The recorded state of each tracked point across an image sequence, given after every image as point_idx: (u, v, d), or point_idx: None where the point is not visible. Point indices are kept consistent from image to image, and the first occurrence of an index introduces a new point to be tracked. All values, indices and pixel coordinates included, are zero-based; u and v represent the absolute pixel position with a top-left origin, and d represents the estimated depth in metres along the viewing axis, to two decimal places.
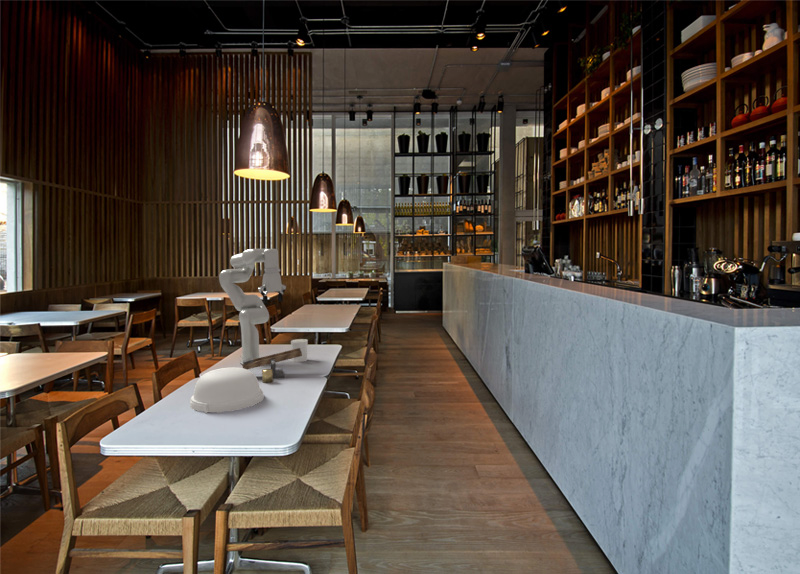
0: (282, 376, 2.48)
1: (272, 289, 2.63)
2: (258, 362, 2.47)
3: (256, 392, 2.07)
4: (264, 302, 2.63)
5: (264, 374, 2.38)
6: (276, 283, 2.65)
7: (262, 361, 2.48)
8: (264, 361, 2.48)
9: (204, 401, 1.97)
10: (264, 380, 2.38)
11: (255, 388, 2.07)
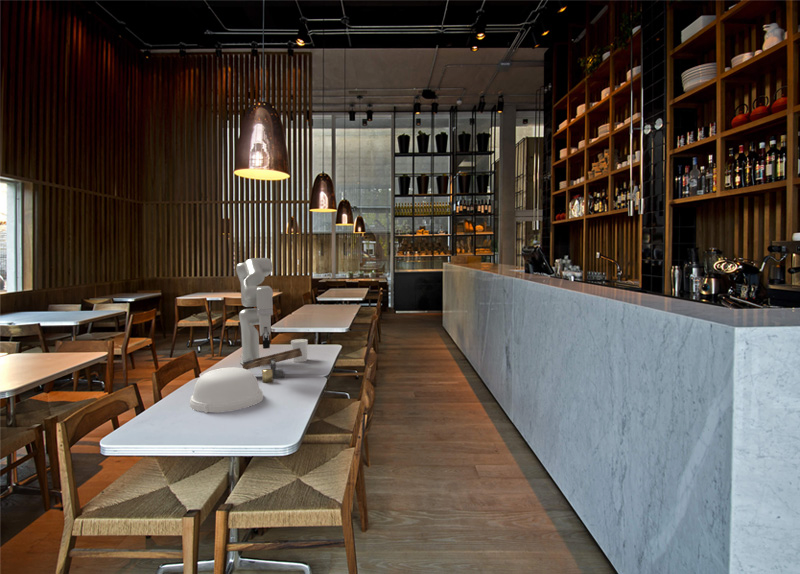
0: (282, 376, 2.48)
1: None
2: (258, 362, 2.47)
3: (256, 392, 2.08)
4: (265, 347, 2.34)
5: (264, 374, 2.38)
6: None
7: (262, 361, 2.48)
8: (264, 361, 2.48)
9: (204, 401, 1.97)
10: (264, 380, 2.38)
11: (255, 388, 2.08)
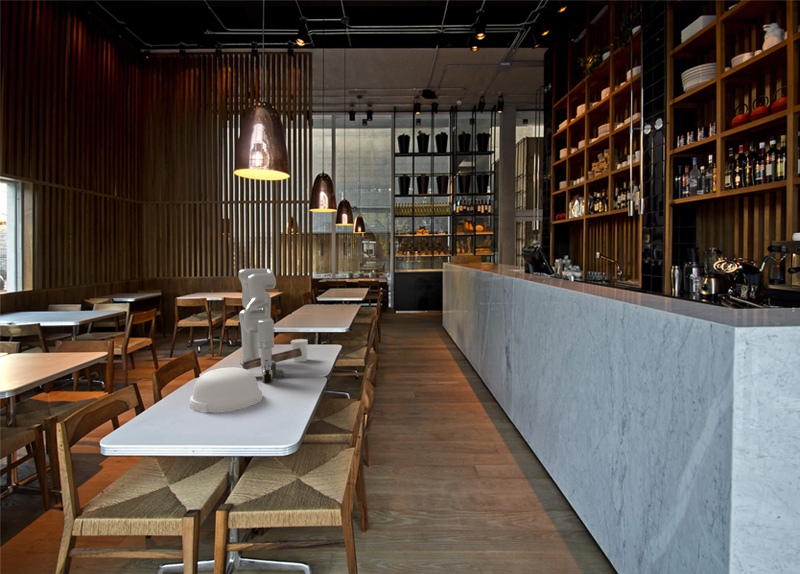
0: (282, 376, 2.48)
1: None
2: (258, 362, 2.47)
3: (255, 392, 2.08)
4: (266, 381, 2.37)
5: None
6: None
7: None
8: None
9: (203, 401, 1.97)
10: None
11: (255, 388, 2.08)
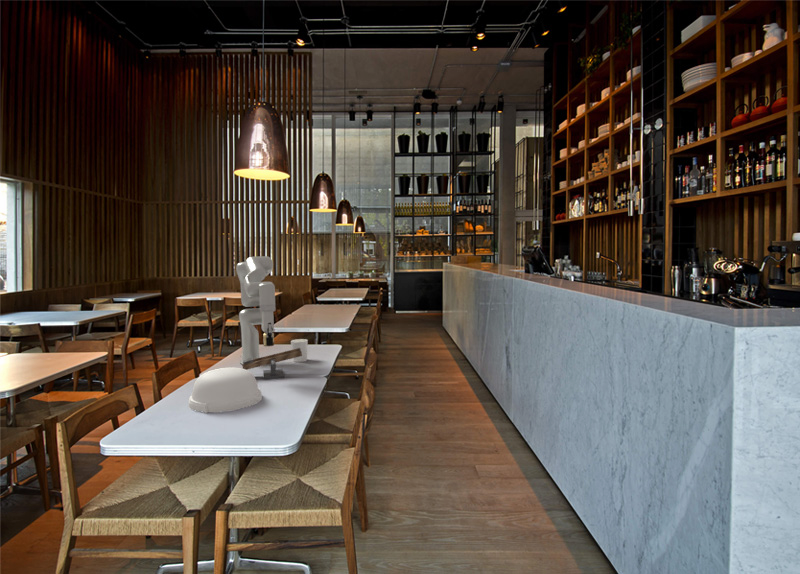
0: (282, 376, 2.48)
1: (273, 327, 2.40)
2: (258, 362, 2.47)
3: (255, 392, 2.08)
4: (268, 344, 2.38)
5: (266, 337, 2.38)
6: None
7: (262, 361, 2.48)
8: (264, 361, 2.48)
9: (203, 401, 1.97)
10: None
11: (254, 388, 2.08)
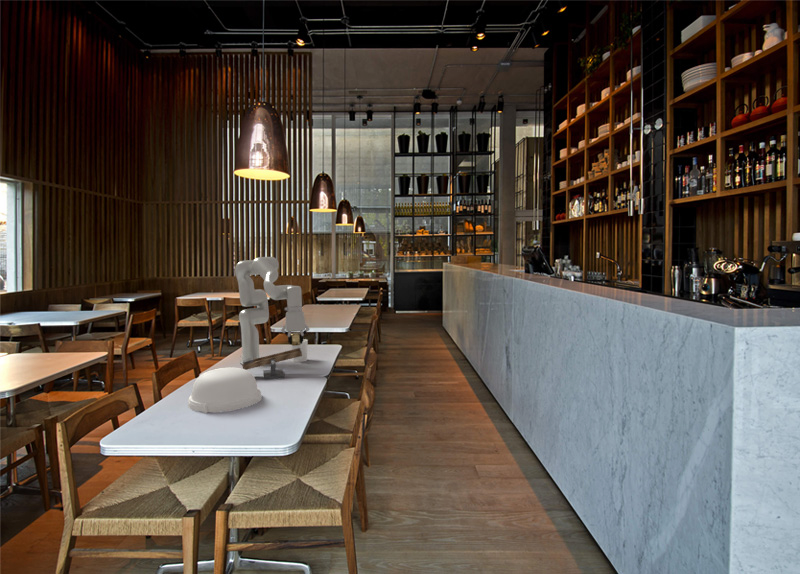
0: (282, 376, 2.48)
1: None
2: (258, 362, 2.47)
3: (254, 392, 2.08)
4: None
5: (299, 336, 2.55)
6: None
7: (262, 361, 2.48)
8: (264, 361, 2.48)
9: (203, 401, 1.97)
10: (299, 342, 2.55)
11: (254, 388, 2.08)
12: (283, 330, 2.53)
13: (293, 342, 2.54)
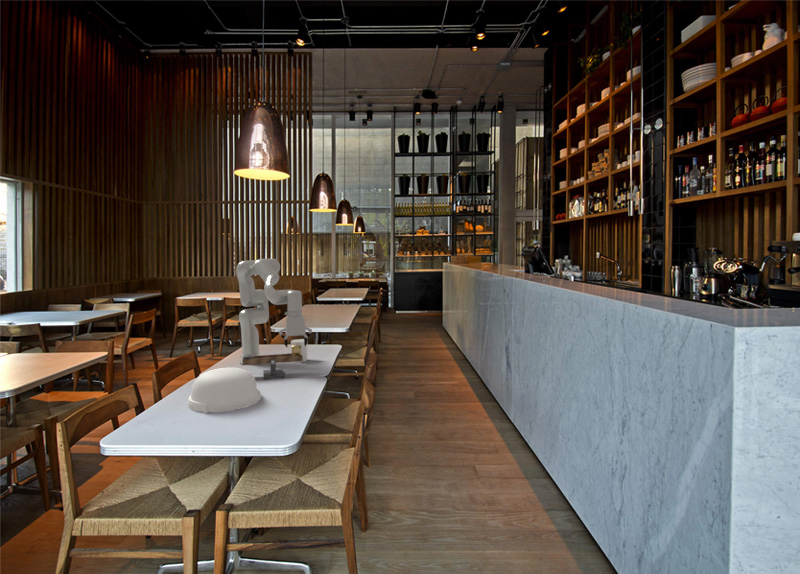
0: (282, 376, 2.48)
1: None
2: (258, 360, 2.47)
3: (254, 392, 2.08)
4: None
5: (300, 348, 2.56)
6: None
7: (262, 359, 2.48)
8: (264, 360, 2.48)
9: (203, 401, 1.97)
10: (300, 354, 2.56)
11: (253, 388, 2.08)
12: (281, 332, 2.53)
13: (294, 354, 2.54)
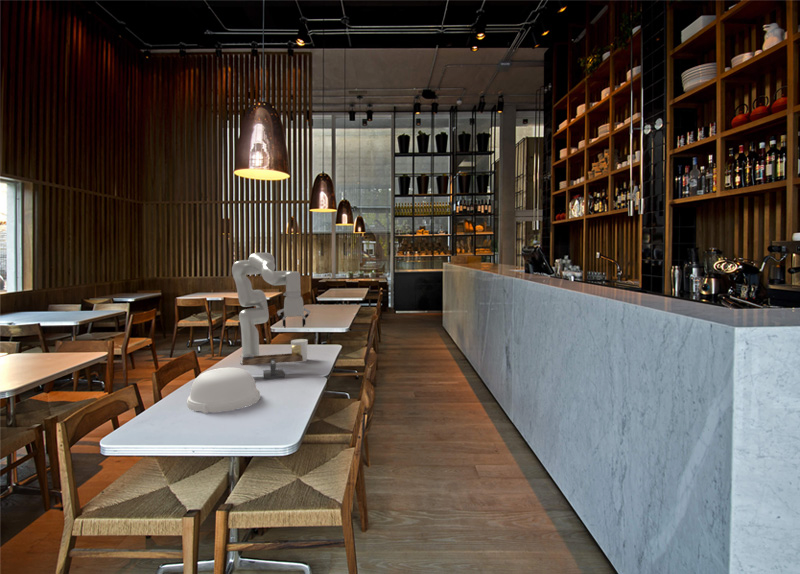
0: (282, 376, 2.48)
1: None
2: (258, 360, 2.47)
3: (253, 391, 2.08)
4: None
5: (300, 348, 2.56)
6: None
7: (262, 359, 2.48)
8: (264, 360, 2.48)
9: (202, 401, 1.97)
10: (300, 354, 2.56)
11: (253, 388, 2.08)
12: (279, 313, 2.54)
13: (294, 354, 2.54)
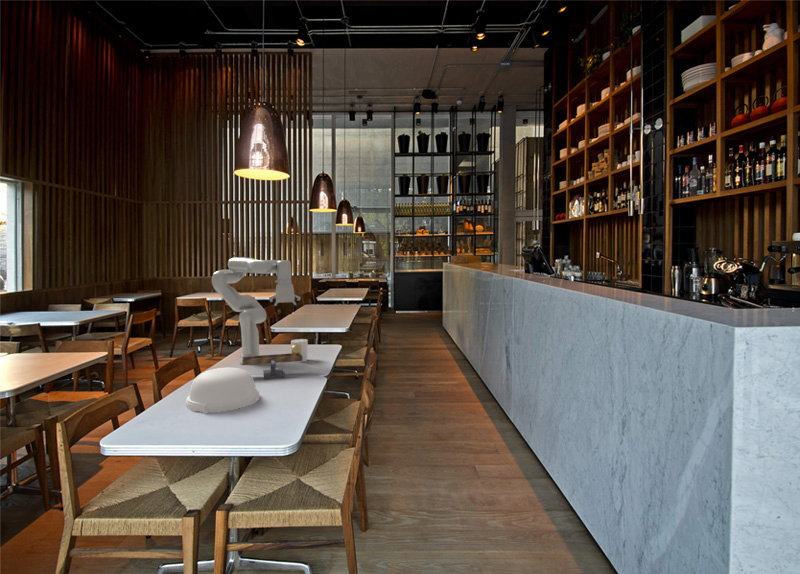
0: (282, 376, 2.48)
1: None
2: (258, 360, 2.47)
3: (253, 391, 2.09)
4: (294, 311, 2.74)
5: (300, 348, 2.56)
6: None
7: (262, 359, 2.48)
8: (264, 360, 2.48)
9: (202, 401, 1.97)
10: (300, 354, 2.56)
11: (252, 387, 2.09)
12: (271, 299, 2.70)
13: (294, 354, 2.54)
